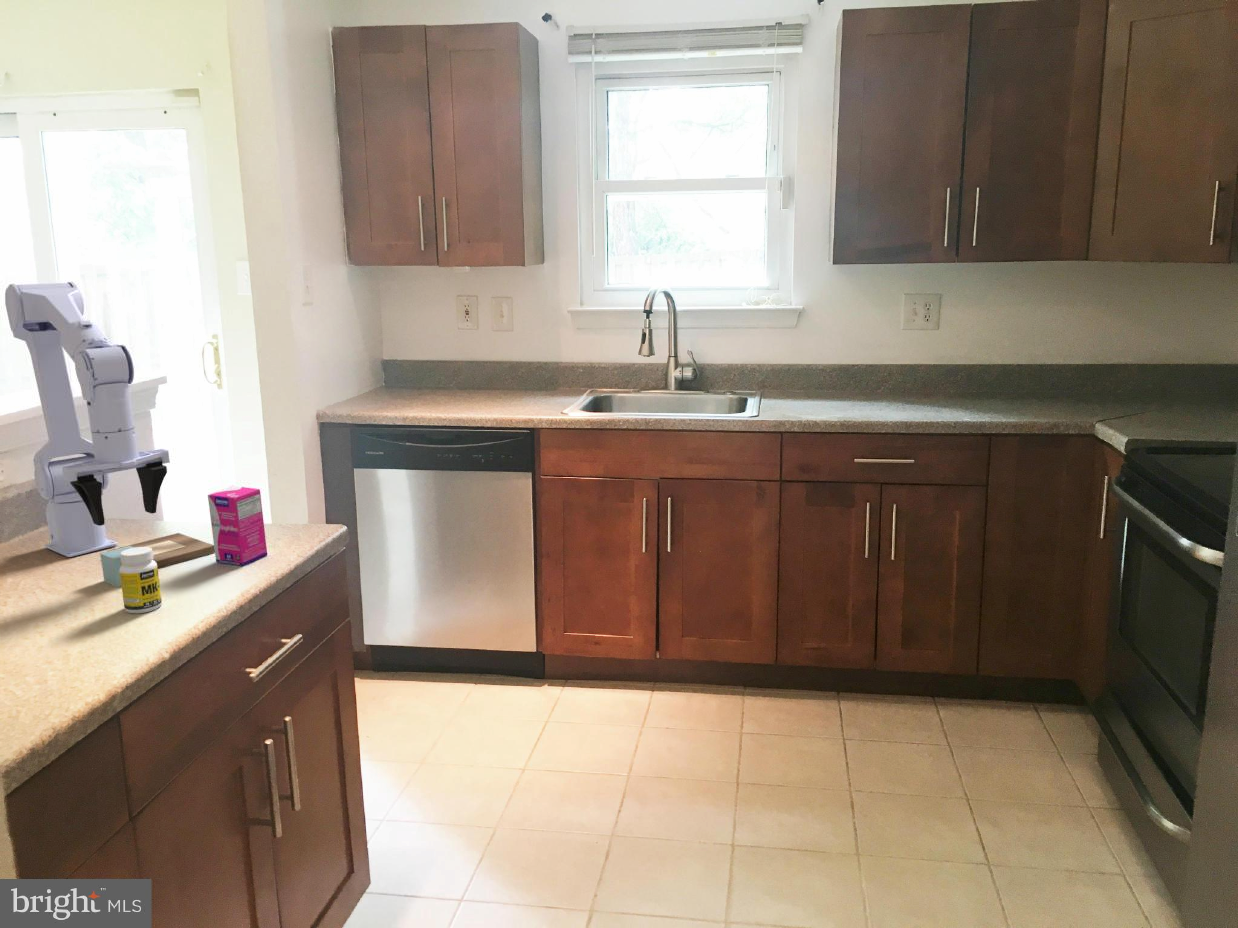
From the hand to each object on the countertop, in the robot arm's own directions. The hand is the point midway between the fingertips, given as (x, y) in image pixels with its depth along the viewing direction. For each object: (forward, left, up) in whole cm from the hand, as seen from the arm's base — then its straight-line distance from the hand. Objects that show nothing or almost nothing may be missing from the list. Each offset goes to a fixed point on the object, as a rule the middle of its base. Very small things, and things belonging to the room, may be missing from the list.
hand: (125, 518), depth 141 cm
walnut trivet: (-8, +8, -10) cm, 15 cm away
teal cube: (-1, -1, -10) cm, 10 cm away
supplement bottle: (+13, -5, -10) cm, 17 cm away
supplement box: (+5, +15, -10) cm, 19 cm away
